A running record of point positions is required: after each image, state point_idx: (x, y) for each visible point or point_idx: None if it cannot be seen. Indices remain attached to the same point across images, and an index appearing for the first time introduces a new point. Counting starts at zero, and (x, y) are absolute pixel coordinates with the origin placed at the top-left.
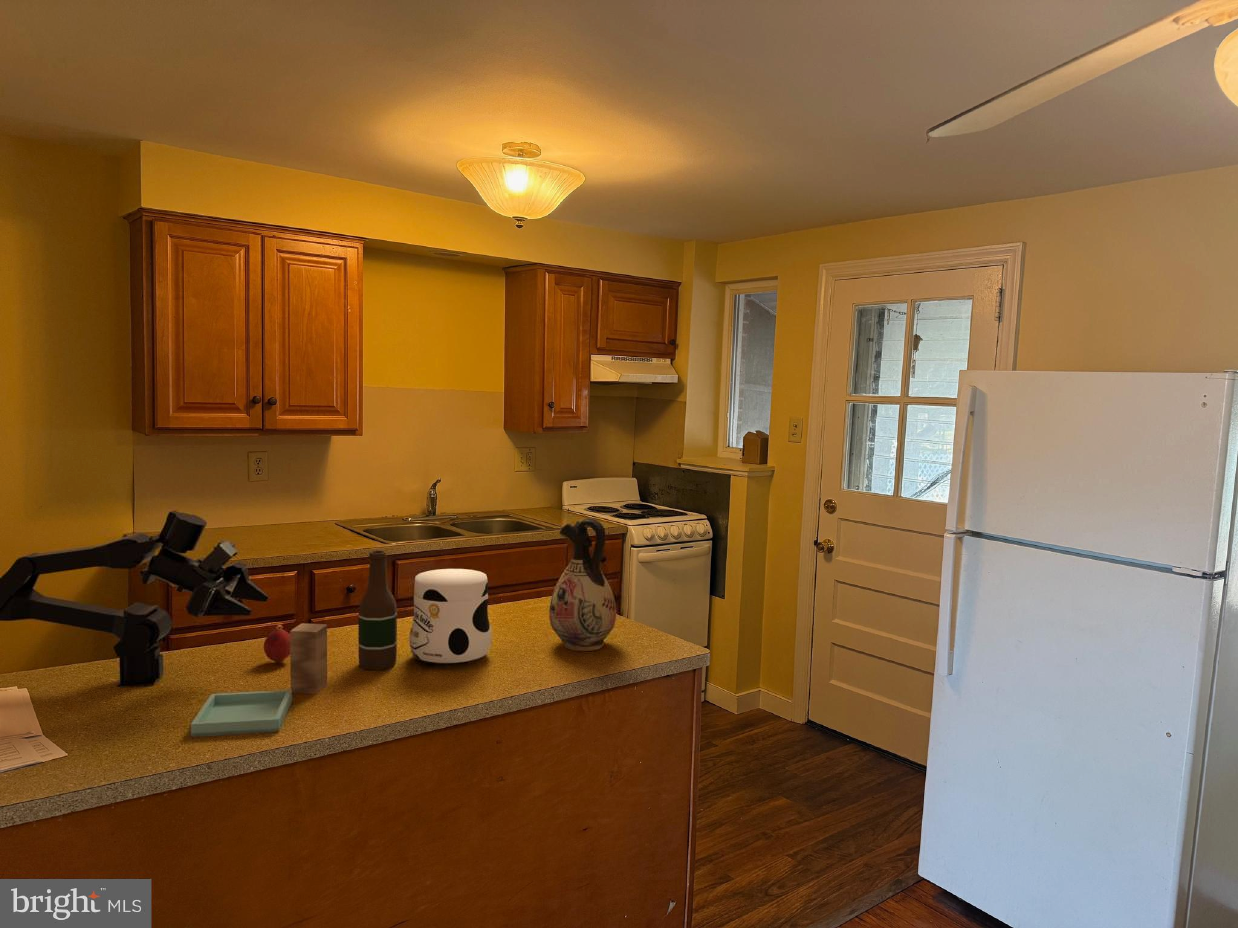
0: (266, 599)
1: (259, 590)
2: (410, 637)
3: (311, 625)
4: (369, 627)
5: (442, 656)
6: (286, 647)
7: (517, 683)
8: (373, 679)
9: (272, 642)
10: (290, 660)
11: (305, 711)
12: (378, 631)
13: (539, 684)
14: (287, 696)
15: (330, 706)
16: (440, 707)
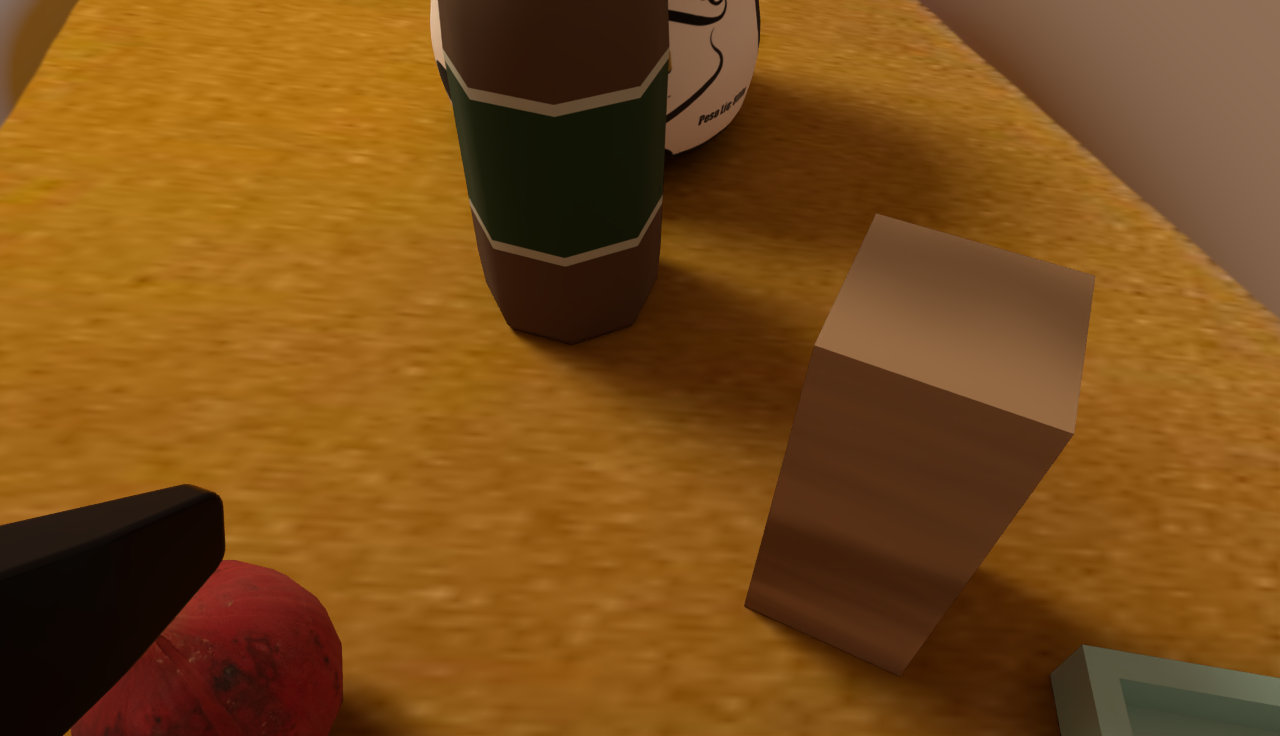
0: (216, 535)
1: (9, 559)
2: None
3: (895, 290)
4: (646, 131)
5: (745, 91)
6: (329, 627)
7: (890, 46)
8: (764, 318)
9: (269, 718)
10: (969, 577)
11: (1201, 610)
12: (661, 126)
13: (904, 20)
14: (1207, 675)
15: (1116, 496)
16: (1099, 194)
